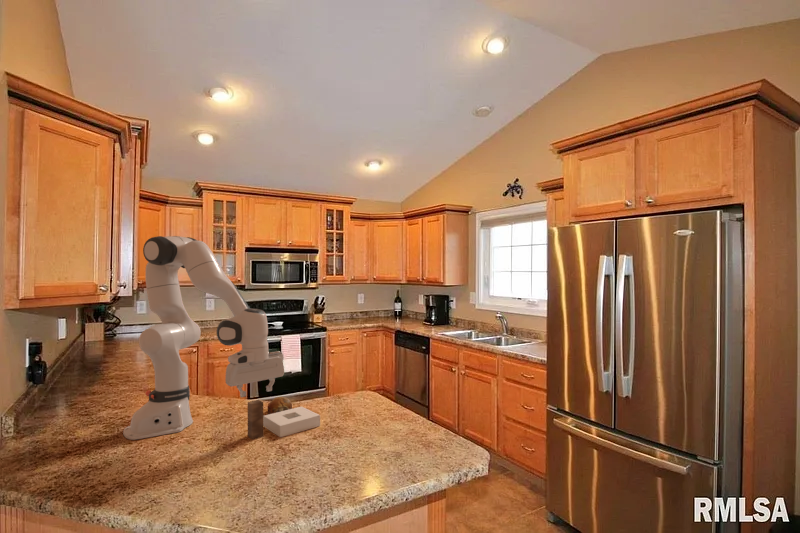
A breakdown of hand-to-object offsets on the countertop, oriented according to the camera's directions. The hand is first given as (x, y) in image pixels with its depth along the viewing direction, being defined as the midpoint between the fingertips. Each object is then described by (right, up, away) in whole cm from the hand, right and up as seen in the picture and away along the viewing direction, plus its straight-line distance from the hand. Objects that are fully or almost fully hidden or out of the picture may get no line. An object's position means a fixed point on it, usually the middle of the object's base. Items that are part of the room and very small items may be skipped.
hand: (256, 393), depth 148 cm
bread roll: (+1, -16, +25) cm, 30 cm away
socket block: (+10, -15, +9) cm, 20 cm away
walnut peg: (0, -15, 0) cm, 15 cm away
